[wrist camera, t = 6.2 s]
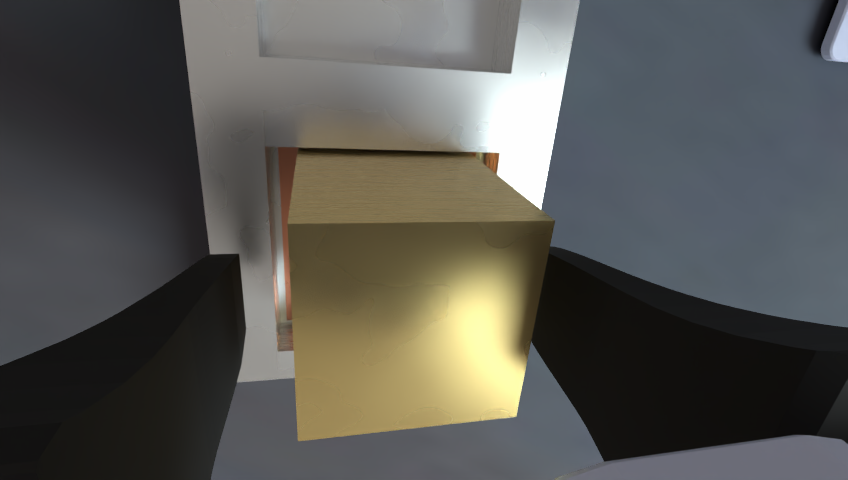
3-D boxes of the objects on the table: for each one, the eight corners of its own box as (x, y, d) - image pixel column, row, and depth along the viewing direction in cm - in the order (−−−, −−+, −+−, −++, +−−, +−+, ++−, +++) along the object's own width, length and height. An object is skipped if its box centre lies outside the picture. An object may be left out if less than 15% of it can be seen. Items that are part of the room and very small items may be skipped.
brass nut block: (459, 144, 13) (554, 220, 8) (445, 281, 15) (516, 416, 10) (298, 140, 12) (287, 223, 7) (303, 286, 14) (298, 441, 9)
